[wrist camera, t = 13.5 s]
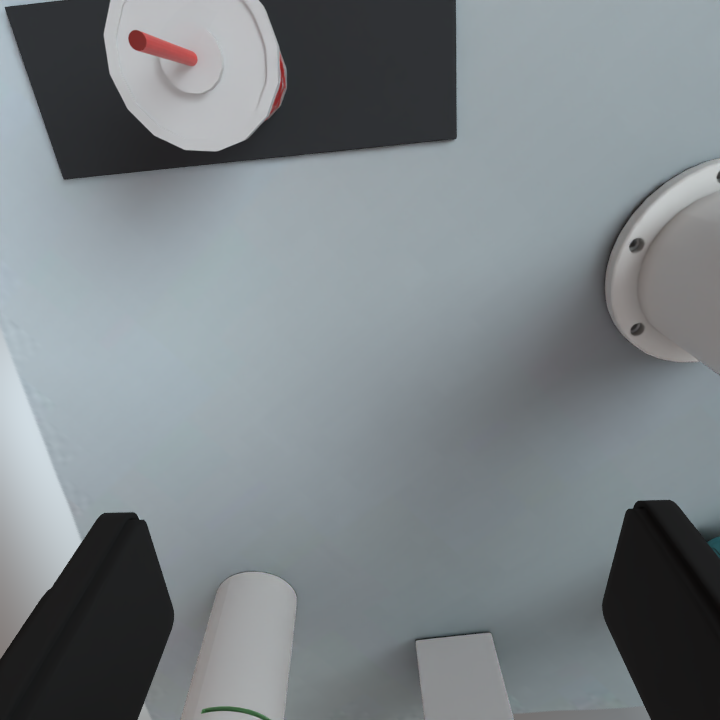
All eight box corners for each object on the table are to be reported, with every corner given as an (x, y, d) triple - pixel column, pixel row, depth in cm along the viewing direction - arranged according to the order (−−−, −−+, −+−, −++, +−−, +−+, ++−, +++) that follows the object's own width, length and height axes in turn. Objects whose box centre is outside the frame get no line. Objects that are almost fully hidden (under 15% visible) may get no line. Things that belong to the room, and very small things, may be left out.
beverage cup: (161, 90, 26) (-19, 68, 13) (219, -27, 24) (70, -185, 11) (262, 164, 28) (187, 207, 15) (325, 61, 25) (298, 11, 13)
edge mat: (454, -44, 24) (455, -45, 24) (455, 138, 27) (456, 138, 27) (8, 8, 24) (4, 6, 24) (66, 178, 28) (63, 179, 28)
